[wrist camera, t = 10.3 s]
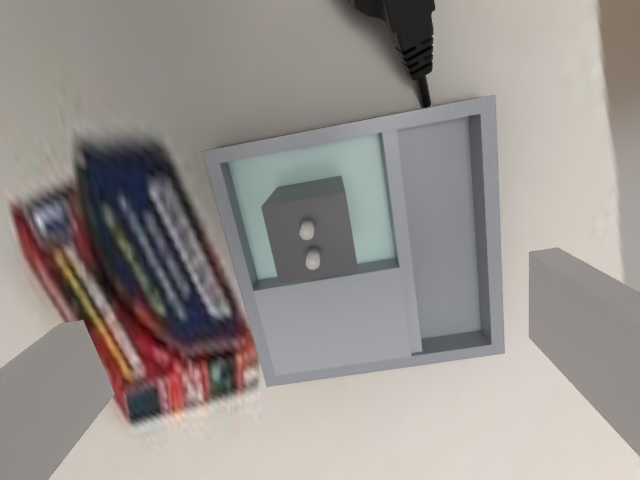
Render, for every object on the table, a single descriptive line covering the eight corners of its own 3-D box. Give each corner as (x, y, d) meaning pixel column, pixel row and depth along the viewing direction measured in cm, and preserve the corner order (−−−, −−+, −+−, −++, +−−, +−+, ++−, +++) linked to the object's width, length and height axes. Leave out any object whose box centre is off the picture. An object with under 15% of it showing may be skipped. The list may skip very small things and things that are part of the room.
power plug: (395, 129, 26) (337, -60, 17) (361, 80, 31) (301, -88, 22) (468, 90, 25) (449, -131, 16) (422, 46, 30) (387, -145, 21)
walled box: (214, 148, 28) (202, 151, 25) (478, 97, 26) (495, 94, 24) (271, 366, 34) (266, 386, 31) (490, 334, 32) (504, 353, 30)
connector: (277, 187, 28) (255, 213, 20) (341, 175, 28) (346, 197, 19) (290, 247, 29) (275, 295, 21) (351, 237, 29) (360, 281, 21)
